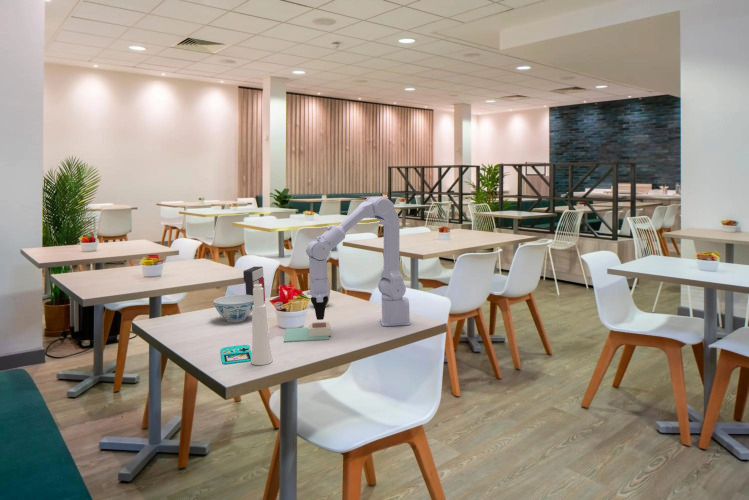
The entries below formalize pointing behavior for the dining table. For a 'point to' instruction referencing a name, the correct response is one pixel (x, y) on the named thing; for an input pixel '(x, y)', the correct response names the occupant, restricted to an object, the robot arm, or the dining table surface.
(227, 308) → the chinaware
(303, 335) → the mat
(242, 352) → the handheld gaming console
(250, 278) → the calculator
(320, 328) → the card box
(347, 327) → the dining table surface
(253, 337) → the cosmetic bottle
